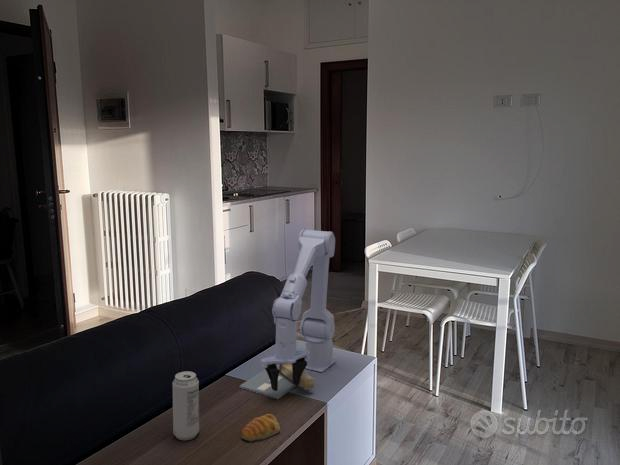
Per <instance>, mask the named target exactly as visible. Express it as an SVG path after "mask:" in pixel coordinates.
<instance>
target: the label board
mask: <svg viewBox="0 0 620 465" xmlns="http://www.w3.org/2000/svg"><path fill="white" fill-rule="evenodd" d="M296 387H297V386H296V385H294V384H293V381H292V380H291V379H290V378H288V377H287V376H285V375H284V374H280V373H279V376H278V389H277V391H274V390H273V389H272V387H271V382H270V379H269V376H268V373H267V371H266V369H265V368H264V369H263V370H262V371H259V372H258V373H257V374H256V375H255V374H254V376H252V377H251V378H250V379H247V380H246V381H245V382H243V383H242V384H239V389H240V388H242V389H241V390H244V389H246V390H245V391H247V390H249V391H248V392H251V391H252V393H254V392H256V393H255V394H258V393H260V394H259V395H261V394H263V395H262V396H265V395H266V396H265V397H268V396H270V397H269V398H272V397H273V398H272V399H275V398H276V400H279V398H280V397H281V398H282V397H283V395H284V396H285V395H286V394H288V393H289V392H290V391H292V389H294V388H296ZM281 398H280V399H281Z"/></svg>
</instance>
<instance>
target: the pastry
mask: <svg viewBox="0 0 620 465" xmlns="http://www.w3.org/2000/svg"><path fill="white" fill-rule="evenodd" d="M279 432H281V426H280V424H279V422H278V420H277V417H275V415H274V414H271V413H266V414H264V415H261V416H258V417H254V418H252V420H251V421H249V423H247V424H246V425H245V426H243V428H242V429H241V433H240V434H241V435H240V438H242V439H243V440H246V441H248V442H253V441H260V440H262V441H263V440H265V439H268V438H271V437H273V436H275V435H274V434H276V433H277V434H279ZM277 434H276V435H277ZM272 435H273V436H272ZM270 436H271V437H270Z"/></svg>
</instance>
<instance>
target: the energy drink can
mask: <svg viewBox="0 0 620 465" xmlns="http://www.w3.org/2000/svg"><path fill="white" fill-rule="evenodd" d="M199 386H200V381H199V379H198V378H197V374H196V373H195V372H193V371H187V370H186V371H181V372H177V373H176V374H175V375H174V379H173V381H172V426H173V430H172V431H173V432H172V433H173V435H174V436H175V437H176V439H177V440H178V441H179V440H180V441H189V440H192V439H195V438H196V436H197V435H198V433H199V432H200V390H199V389H200V388H199Z"/></svg>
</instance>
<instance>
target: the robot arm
mask: <svg viewBox="0 0 620 465" xmlns="http://www.w3.org/2000/svg"><path fill="white" fill-rule="evenodd" d="M297 243H298V249H299V254H298V257H297V260H296V263H295V267H294V271H293V273H291V274H289V275H288V276H287V278H286V281H285V284H284V287H283V289H282V290H281V291H282V292H281V294H280V296H279V297H278V298H275V299H274V300H273V304H272V309H271V313H272V316H273V323H274V324H275V353H274V354H272V355H269V356H267V357H265V358H261V359H260V367H261V368H263V369H264V370H265V369H266V371H267V373H268V376H269V379H270V382H271V387H272V389H273V390H274V391H277V389H278V376H279V372H280V370H279V367H278V366H277V365H279V364H282V363H292V370H293V376H292V380H293V384H294V385H296V386H295V387H298V386H299V381H300V378H301V375H302V373H303V372H305V369H307V370H310V371H315V372H319V373H323V372H324V371H326V370H327V369H329V367H331V366H333V364H335V363H336V361H335V360H334V359H333V351H334V350H333V346H334V342H333V337H334V334H335V330H336V325H335V316H334V314H333V313H331V312H330V311H329V310H328V309H327V301H328V300H327V296H328V295H327V294H328V284H329V282H328V281H329V269H330V268H329V266H330V258H333V257H334V255H335V250H336V249H335V248H336V237H335V235H334V232H333V231H326V230H324V231H323V230H314V229H306V228H303V229H302V230H300V232H299V235H298V242H297ZM311 267H312V275H311V291H310V308H309V309H307V310H305V311H304V313H302V317H301V322H300V324H299V331H300V334H301V335H302V336H303V339H304V340H305V349H304V350H303V349H302V350H297V333H298V332H297V331H298V329H297V328H298V319H299V318H300V315H301V312H302V305H303V300H302V299H303V296H304V293H305V290H306V288H307V285H308V280H307V278H306V277H307V275H308V273H309V272H310V269H311Z"/></svg>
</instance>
